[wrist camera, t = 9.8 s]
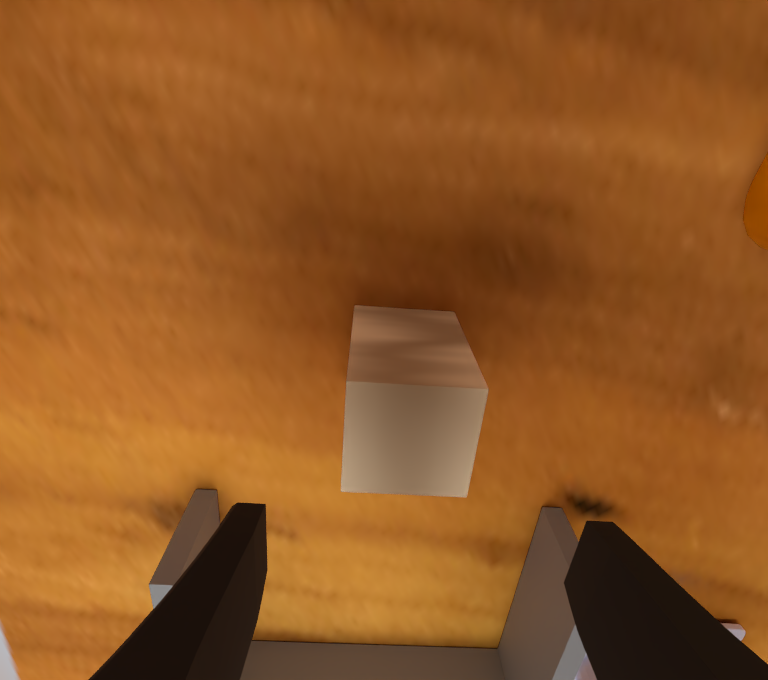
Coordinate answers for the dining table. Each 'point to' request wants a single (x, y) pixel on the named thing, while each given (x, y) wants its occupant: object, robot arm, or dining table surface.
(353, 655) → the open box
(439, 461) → the birch block
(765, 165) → the element tile
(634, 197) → the dining table surface
